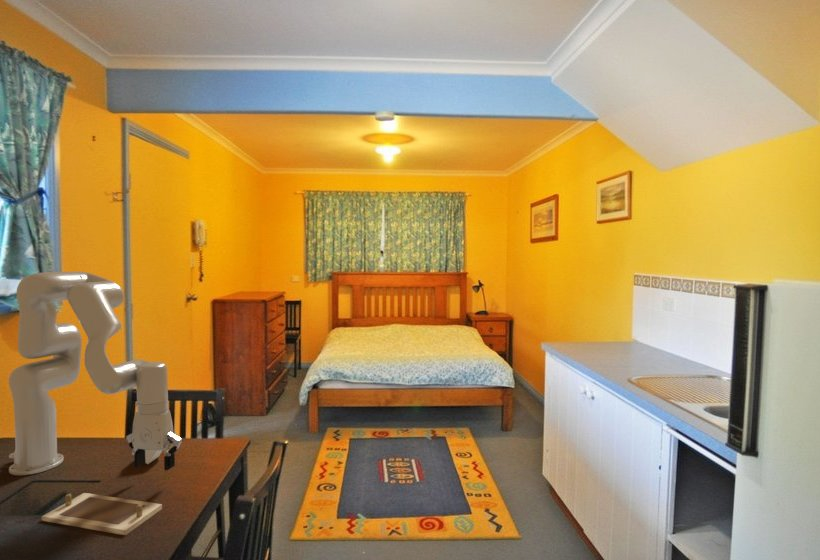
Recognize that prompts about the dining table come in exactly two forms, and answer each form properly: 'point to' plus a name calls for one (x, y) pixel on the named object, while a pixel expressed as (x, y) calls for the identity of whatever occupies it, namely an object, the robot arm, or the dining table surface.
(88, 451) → the dining table surface
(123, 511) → the serving tray
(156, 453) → the white cube
